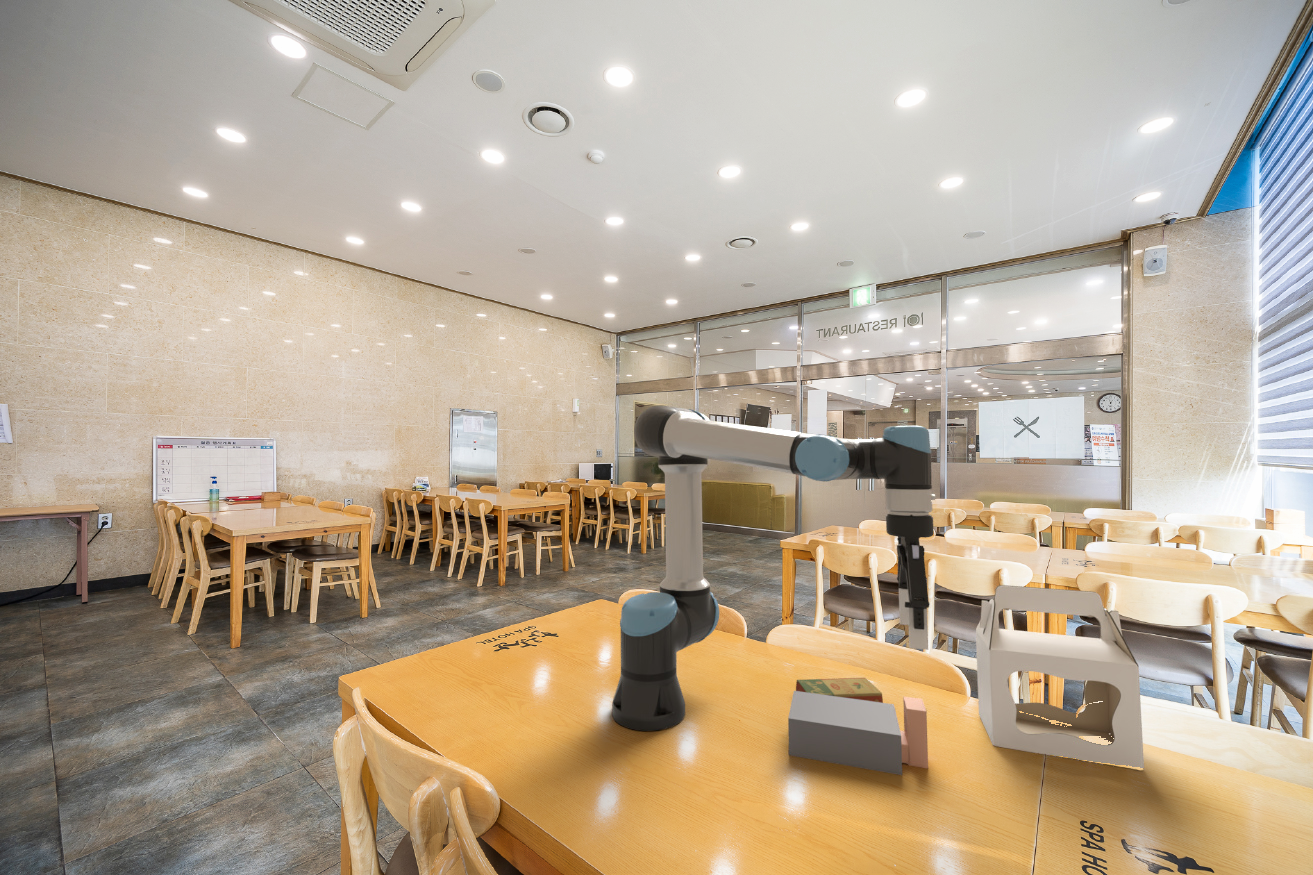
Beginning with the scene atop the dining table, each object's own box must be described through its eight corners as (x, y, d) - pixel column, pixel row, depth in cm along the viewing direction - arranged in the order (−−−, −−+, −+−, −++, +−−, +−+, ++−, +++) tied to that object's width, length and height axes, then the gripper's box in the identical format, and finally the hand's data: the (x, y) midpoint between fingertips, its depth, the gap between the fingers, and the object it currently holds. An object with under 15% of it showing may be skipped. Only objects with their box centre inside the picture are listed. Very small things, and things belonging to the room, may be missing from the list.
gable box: (1112, 735, 99) (1104, 586, 101) (1146, 772, 87) (1137, 602, 89) (977, 714, 107) (972, 577, 109) (991, 746, 95) (985, 590, 97)
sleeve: (788, 759, 91) (788, 718, 91) (794, 727, 102) (793, 690, 102) (902, 779, 85) (901, 735, 85) (894, 743, 96) (893, 704, 96)
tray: (796, 756, 91) (795, 698, 92) (800, 730, 100) (799, 678, 101) (930, 779, 84) (928, 717, 85) (921, 749, 94) (920, 693, 94)
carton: (883, 713, 109) (883, 692, 109) (808, 715, 108) (807, 694, 108) (865, 695, 117) (865, 676, 117) (795, 697, 116) (795, 677, 116)
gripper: (946, 520, 79) (952, 663, 78) (921, 508, 103) (925, 618, 101) (893, 518, 82) (897, 657, 80) (880, 507, 105) (883, 614, 104)
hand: (912, 635), depth 91 cm, fingers open, 13 cm apart
